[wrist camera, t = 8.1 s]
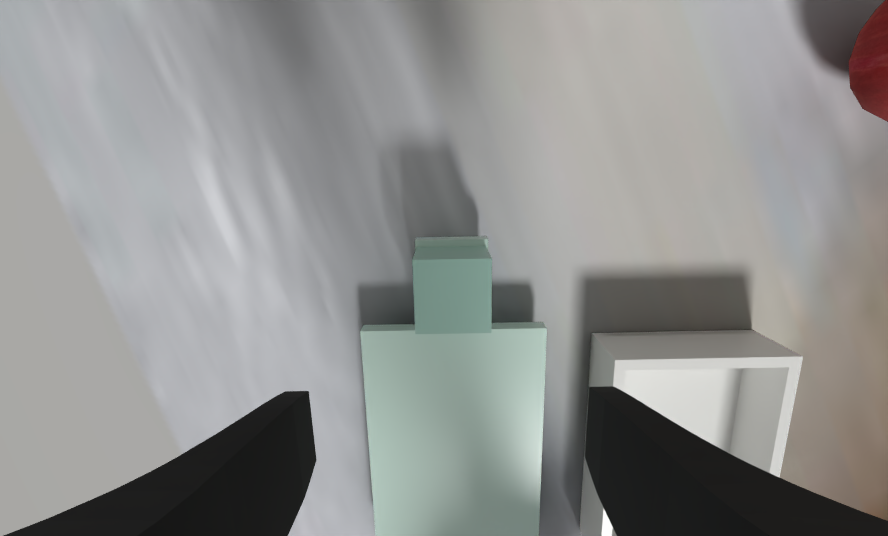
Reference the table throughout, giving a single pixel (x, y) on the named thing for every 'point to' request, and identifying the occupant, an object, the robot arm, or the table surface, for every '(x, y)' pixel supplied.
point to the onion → (872, 64)
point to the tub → (700, 393)
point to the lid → (454, 404)
